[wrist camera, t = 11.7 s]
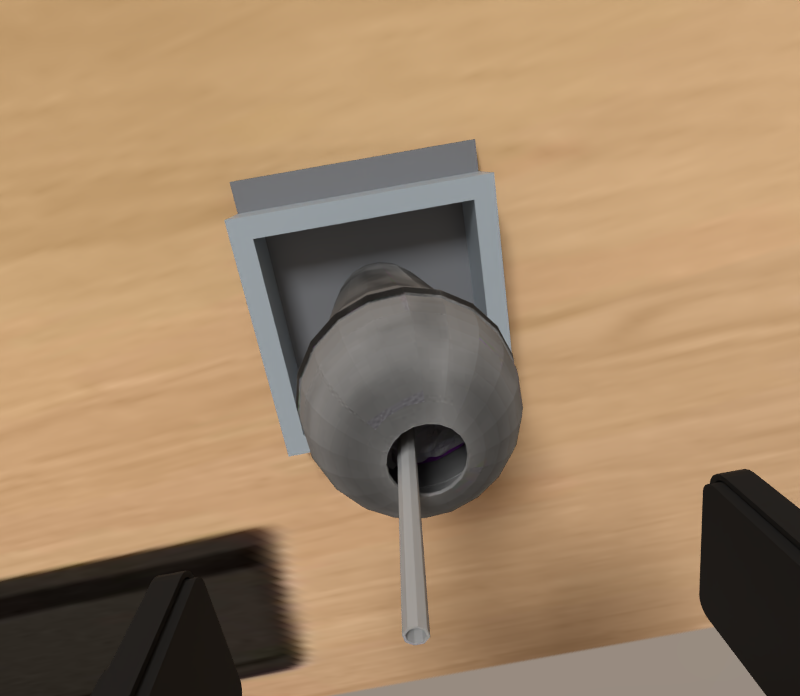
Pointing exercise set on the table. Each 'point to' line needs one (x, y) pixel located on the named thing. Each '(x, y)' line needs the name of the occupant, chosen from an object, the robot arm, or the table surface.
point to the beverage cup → (408, 408)
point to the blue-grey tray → (360, 247)
